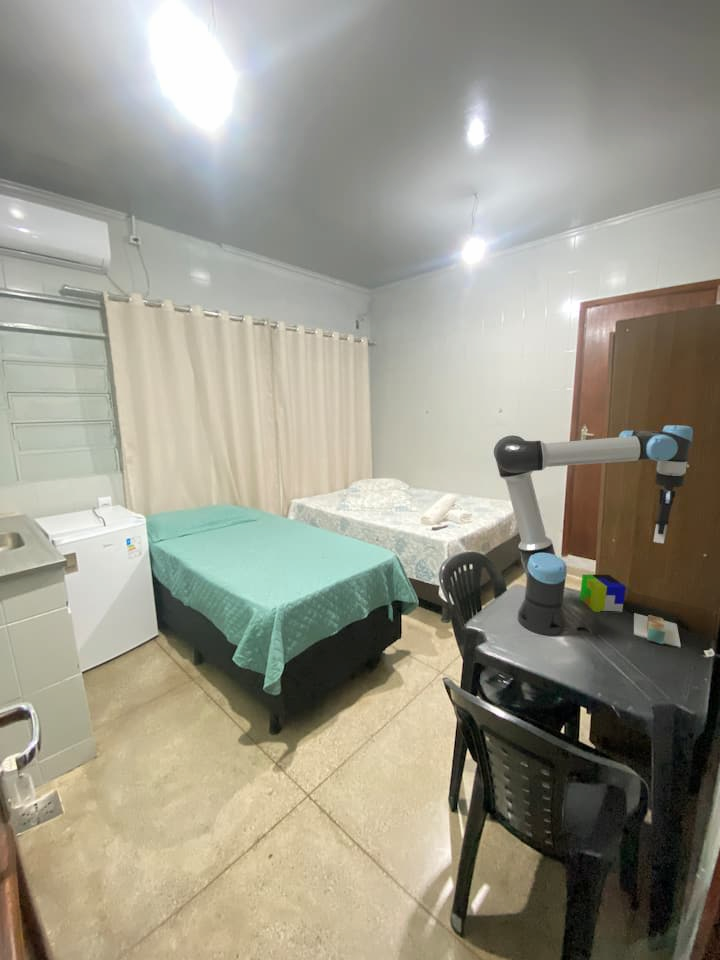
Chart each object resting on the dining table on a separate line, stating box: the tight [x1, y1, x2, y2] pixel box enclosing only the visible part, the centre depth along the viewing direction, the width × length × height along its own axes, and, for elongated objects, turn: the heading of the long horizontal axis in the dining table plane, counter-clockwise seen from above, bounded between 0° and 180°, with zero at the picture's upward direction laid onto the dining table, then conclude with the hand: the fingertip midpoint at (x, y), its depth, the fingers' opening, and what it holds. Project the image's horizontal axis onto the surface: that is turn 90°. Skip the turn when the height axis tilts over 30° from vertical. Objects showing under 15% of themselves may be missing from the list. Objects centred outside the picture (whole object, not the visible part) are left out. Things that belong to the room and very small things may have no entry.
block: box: [646, 614, 665, 645], centre depth 128 cm, size 4×4×10 cm
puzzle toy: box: [579, 573, 627, 613], centre depth 147 cm, size 10×10×10 cm
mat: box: [633, 612, 682, 648], centre depth 132 cm, size 12×15×1 cm
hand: (658, 542), depth 133 cm, fingers closed
